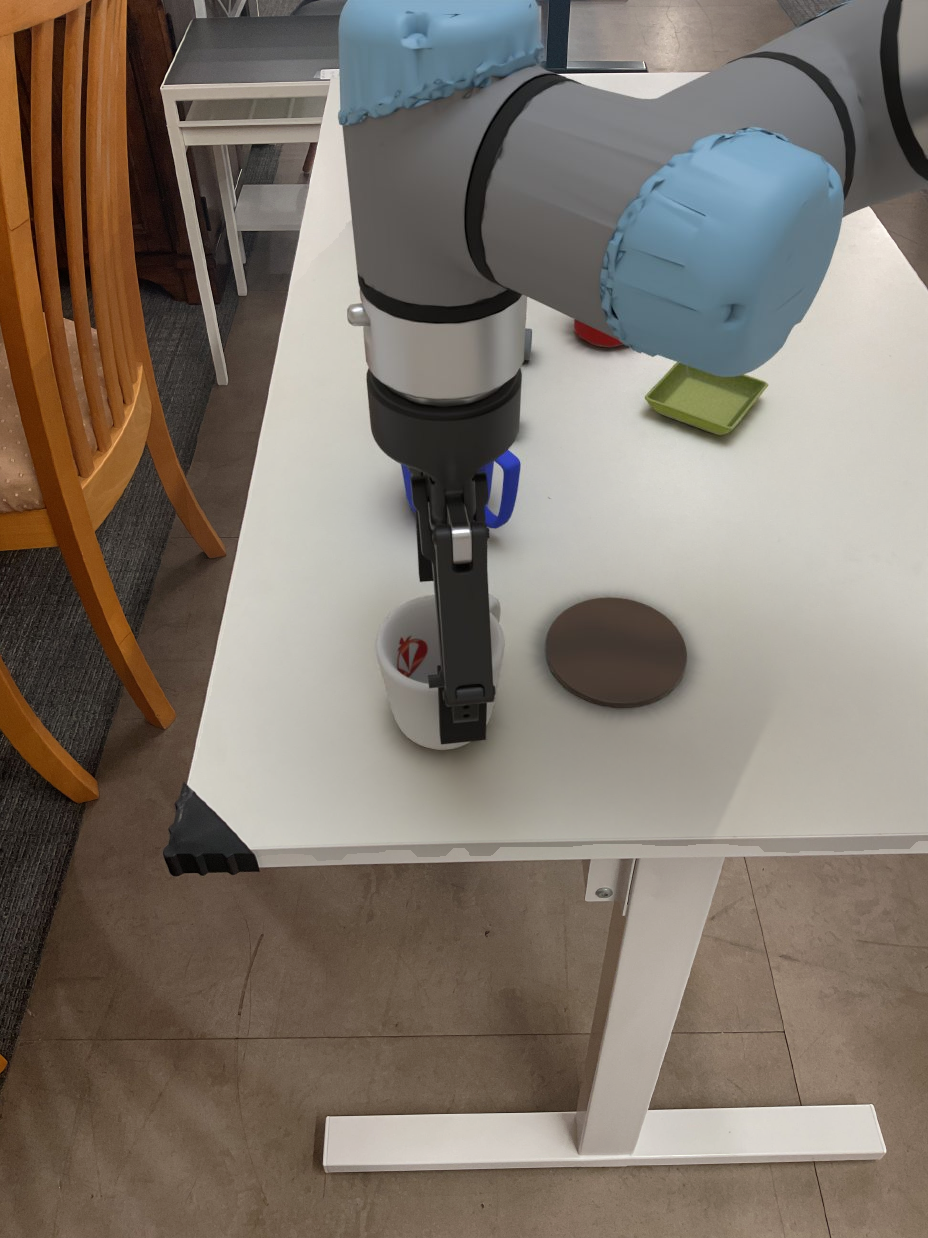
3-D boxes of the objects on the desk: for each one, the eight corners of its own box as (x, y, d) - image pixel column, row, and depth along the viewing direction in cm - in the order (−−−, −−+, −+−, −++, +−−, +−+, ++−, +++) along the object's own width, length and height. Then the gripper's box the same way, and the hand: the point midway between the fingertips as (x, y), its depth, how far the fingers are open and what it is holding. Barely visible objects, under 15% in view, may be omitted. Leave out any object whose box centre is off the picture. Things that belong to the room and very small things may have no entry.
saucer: (765, 401, 88) (770, 382, 86) (727, 448, 83) (732, 429, 82) (680, 372, 91) (684, 353, 90) (639, 416, 86) (642, 397, 85)
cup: (446, 630, 69) (443, 550, 63) (542, 672, 66) (548, 593, 60) (361, 733, 63) (349, 656, 57) (463, 785, 60) (462, 709, 54)
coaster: (703, 699, 64) (704, 695, 64) (560, 715, 63) (560, 710, 63) (664, 595, 71) (665, 590, 71) (534, 608, 70) (534, 603, 70)
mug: (471, 579, 72) (471, 477, 65) (380, 501, 79) (370, 400, 71) (549, 532, 76) (557, 431, 68) (455, 461, 82) (453, 361, 75)
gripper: (353, 246, 53) (379, 526, 68) (382, 550, 36) (408, 828, 52) (485, 238, 53) (481, 517, 69) (573, 533, 37) (541, 813, 53)
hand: (449, 651), depth 61 cm, fingers open, 13 cm apart
